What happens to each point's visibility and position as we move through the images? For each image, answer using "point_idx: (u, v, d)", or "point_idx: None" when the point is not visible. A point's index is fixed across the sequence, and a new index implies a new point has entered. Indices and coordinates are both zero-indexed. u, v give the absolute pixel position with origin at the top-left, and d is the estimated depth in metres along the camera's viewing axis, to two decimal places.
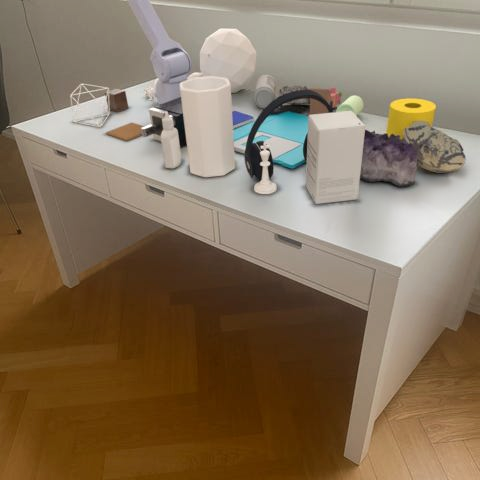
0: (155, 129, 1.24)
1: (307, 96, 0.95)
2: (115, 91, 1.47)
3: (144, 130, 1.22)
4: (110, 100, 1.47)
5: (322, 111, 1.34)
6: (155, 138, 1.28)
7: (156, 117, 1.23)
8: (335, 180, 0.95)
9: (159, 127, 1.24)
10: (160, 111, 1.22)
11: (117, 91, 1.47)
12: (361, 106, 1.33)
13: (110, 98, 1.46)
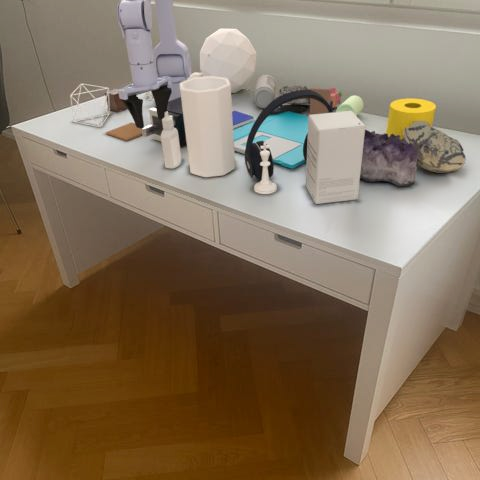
0: (155, 129, 1.24)
1: (307, 96, 0.96)
2: (115, 91, 1.47)
3: (144, 130, 1.22)
4: (110, 100, 1.47)
5: (322, 111, 1.34)
6: (155, 138, 1.28)
7: (156, 117, 1.23)
8: (335, 180, 0.95)
9: (159, 127, 1.24)
10: None
11: (117, 91, 1.47)
12: (361, 106, 1.33)
13: (110, 98, 1.46)
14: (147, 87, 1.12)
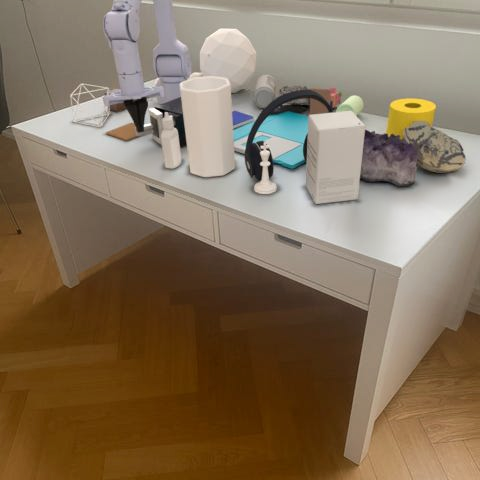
0: (150, 129, 1.24)
1: (307, 96, 0.96)
2: (115, 91, 1.47)
3: None
4: None
5: (322, 111, 1.34)
6: (153, 138, 1.28)
7: (152, 118, 1.23)
8: (335, 180, 0.95)
9: (155, 128, 1.24)
10: (156, 112, 1.22)
11: (117, 91, 1.47)
12: (361, 106, 1.33)
13: None
14: (129, 96, 1.13)
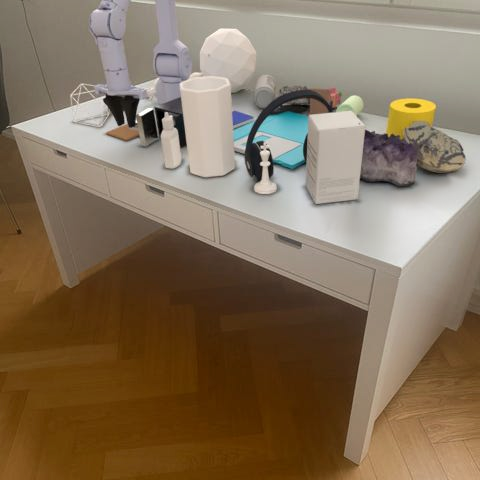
0: None
1: (307, 96, 0.96)
2: None
3: None
4: None
5: (322, 111, 1.34)
6: None
7: None
8: (335, 180, 0.95)
9: None
10: (141, 113, 1.22)
11: None
12: (361, 106, 1.33)
13: None
14: None
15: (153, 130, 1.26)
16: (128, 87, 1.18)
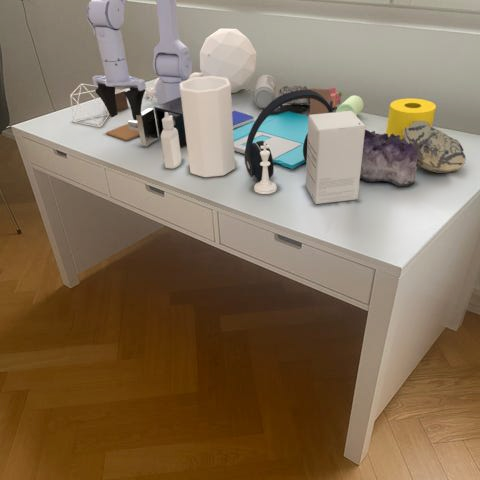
0: None
1: (307, 96, 0.96)
2: (115, 91, 1.47)
3: (128, 123, 1.26)
4: None
5: (322, 111, 1.34)
6: None
7: None
8: (335, 180, 0.95)
9: None
10: (141, 113, 1.22)
11: (117, 91, 1.47)
12: (361, 106, 1.33)
13: None
14: (106, 82, 1.17)
15: (153, 130, 1.26)
16: (127, 78, 1.17)
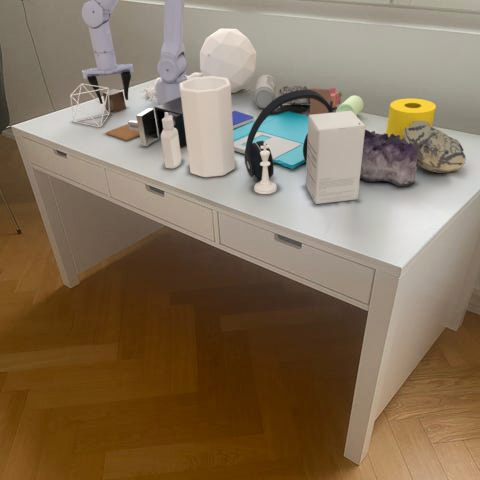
0: (139, 127, 1.25)
1: (307, 96, 0.96)
2: (113, 91, 1.47)
3: (128, 123, 1.26)
4: (107, 100, 1.47)
5: (322, 111, 1.34)
6: None
7: None
8: (335, 180, 0.95)
9: None
10: (141, 113, 1.22)
11: (115, 91, 1.47)
12: (361, 106, 1.33)
13: (107, 98, 1.46)
14: (103, 71, 1.39)
15: (153, 130, 1.26)
16: (116, 65, 1.41)
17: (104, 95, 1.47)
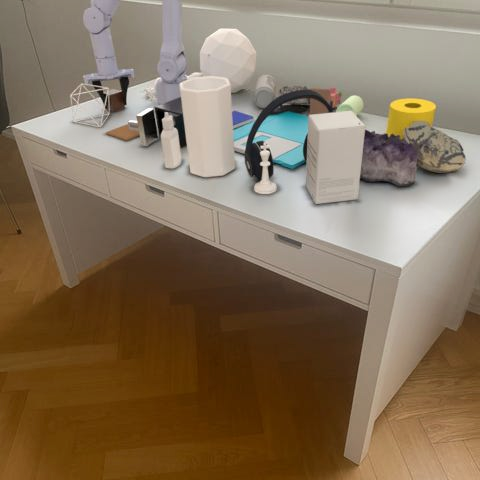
0: (139, 127, 1.25)
1: (307, 96, 0.96)
2: (112, 91, 1.47)
3: (128, 123, 1.26)
4: (106, 100, 1.47)
5: (322, 111, 1.34)
6: None
7: None
8: (335, 180, 0.95)
9: None
10: (141, 113, 1.22)
11: (114, 91, 1.46)
12: (361, 106, 1.33)
13: None
14: (104, 76, 1.40)
15: (153, 130, 1.26)
16: (117, 70, 1.42)
17: None
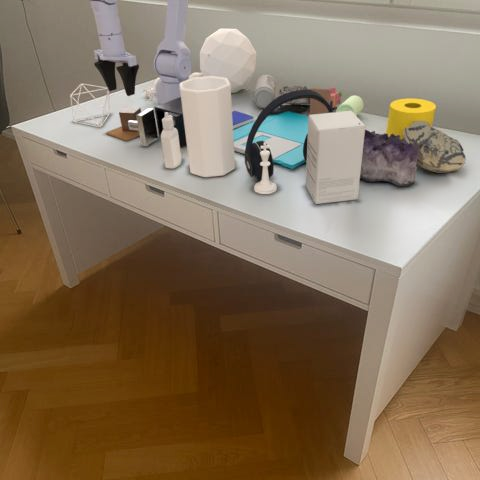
0: (139, 127, 1.25)
1: (307, 96, 0.96)
2: (129, 110, 1.31)
3: (128, 123, 1.26)
4: None
5: (322, 111, 1.34)
6: None
7: None
8: (335, 180, 0.95)
9: None
10: (141, 113, 1.22)
11: (130, 110, 1.31)
12: (361, 106, 1.33)
13: None
14: None
15: (153, 130, 1.26)
16: (120, 53, 1.20)
17: None
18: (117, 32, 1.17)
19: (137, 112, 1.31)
